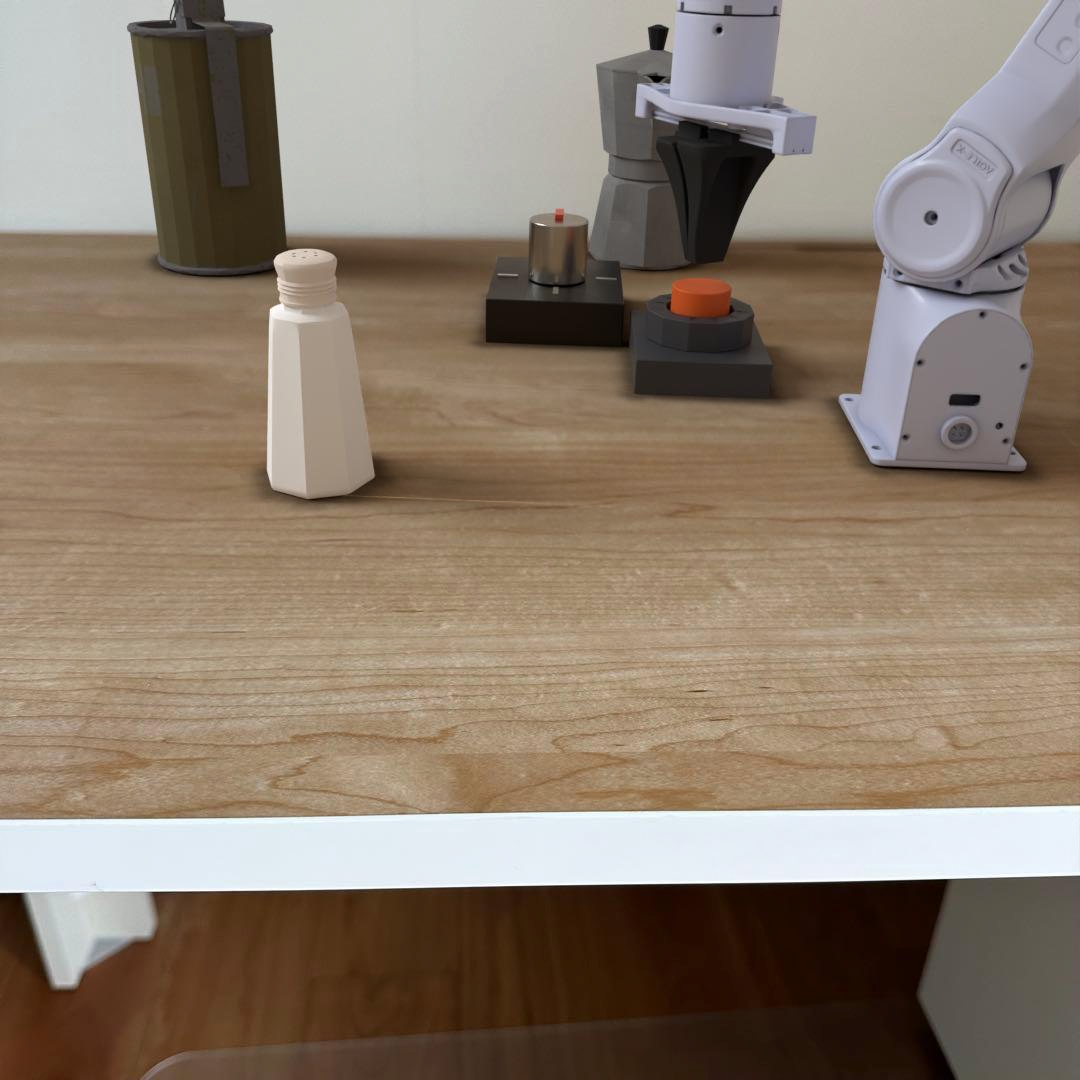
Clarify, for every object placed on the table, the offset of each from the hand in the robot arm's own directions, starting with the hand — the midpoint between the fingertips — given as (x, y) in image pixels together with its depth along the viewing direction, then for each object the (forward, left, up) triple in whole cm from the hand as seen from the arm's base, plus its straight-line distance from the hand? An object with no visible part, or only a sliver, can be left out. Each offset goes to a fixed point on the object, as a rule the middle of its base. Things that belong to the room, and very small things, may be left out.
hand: (704, 260), depth 69 cm
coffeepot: (+29, +2, -7) cm, 30 cm away
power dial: (+9, +9, -4) cm, 13 cm away
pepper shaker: (-18, +20, -7) cm, 28 cm away
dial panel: (+9, +9, -7) cm, 14 cm away
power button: (0, 0, -3) cm, 3 cm away
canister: (+22, +36, -7) cm, 43 cm away
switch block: (0, 0, -7) cm, 7 cm away
